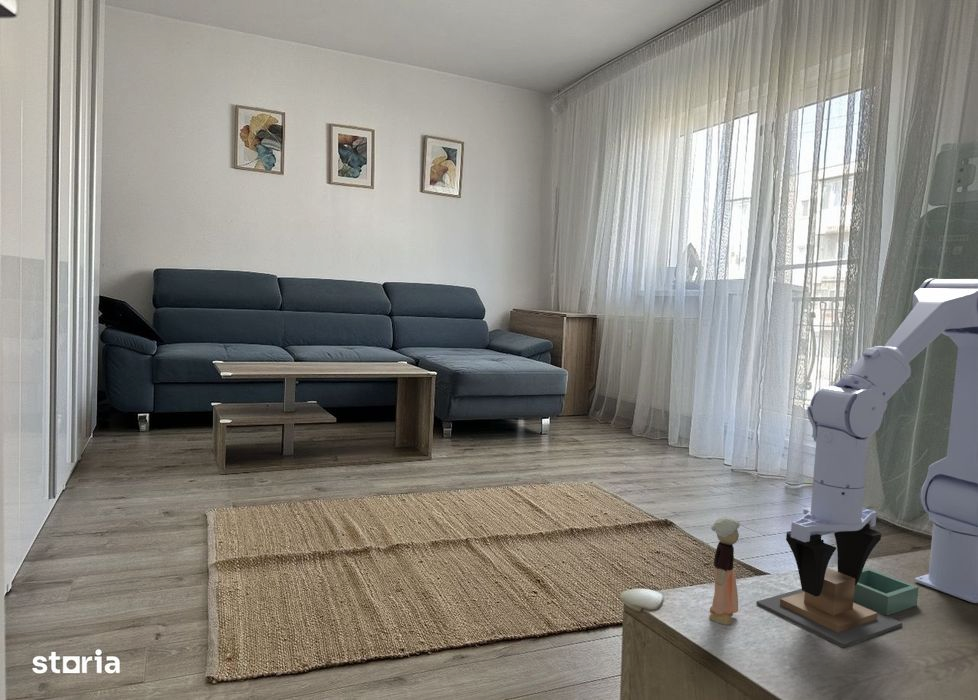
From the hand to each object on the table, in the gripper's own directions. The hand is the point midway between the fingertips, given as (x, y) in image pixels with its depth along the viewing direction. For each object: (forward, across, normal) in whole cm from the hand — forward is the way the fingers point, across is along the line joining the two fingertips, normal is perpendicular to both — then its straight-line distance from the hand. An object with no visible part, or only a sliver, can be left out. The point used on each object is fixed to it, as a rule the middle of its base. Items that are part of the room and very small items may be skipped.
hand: (829, 587), depth 86 cm
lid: (+3, 0, 0) cm, 3 cm away
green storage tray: (+4, -10, 0) cm, 11 cm away
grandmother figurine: (+4, +12, -6) cm, 14 cm away
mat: (+4, 0, 0) cm, 4 cm away
